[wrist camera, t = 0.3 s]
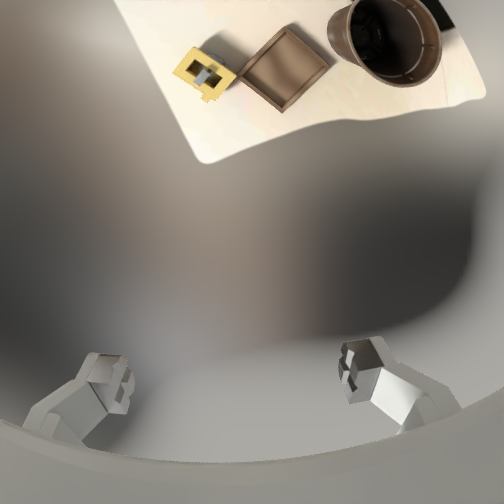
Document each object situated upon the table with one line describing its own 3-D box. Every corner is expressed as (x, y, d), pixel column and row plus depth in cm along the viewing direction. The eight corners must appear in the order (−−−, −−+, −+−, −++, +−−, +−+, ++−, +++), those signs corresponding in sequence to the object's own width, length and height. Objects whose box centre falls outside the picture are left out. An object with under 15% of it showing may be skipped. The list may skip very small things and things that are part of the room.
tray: (283, 26, 39) (285, 26, 37) (326, 65, 44) (330, 66, 42) (235, 75, 45) (235, 76, 44) (280, 110, 50) (282, 113, 49)
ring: (194, 46, 39) (192, 46, 37) (236, 74, 43) (236, 76, 42) (171, 76, 43) (168, 77, 41) (212, 102, 47) (211, 105, 45)
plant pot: (376, -9, 32) (422, -18, 20) (404, 61, 42) (453, 76, 30) (301, 9, 37) (327, -2, 24) (336, 82, 46) (371, 100, 34)
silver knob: (204, 47, 41) (200, 47, 36) (234, 68, 44) (234, 71, 40) (180, 76, 44) (174, 80, 40) (210, 96, 48) (207, 102, 43)
